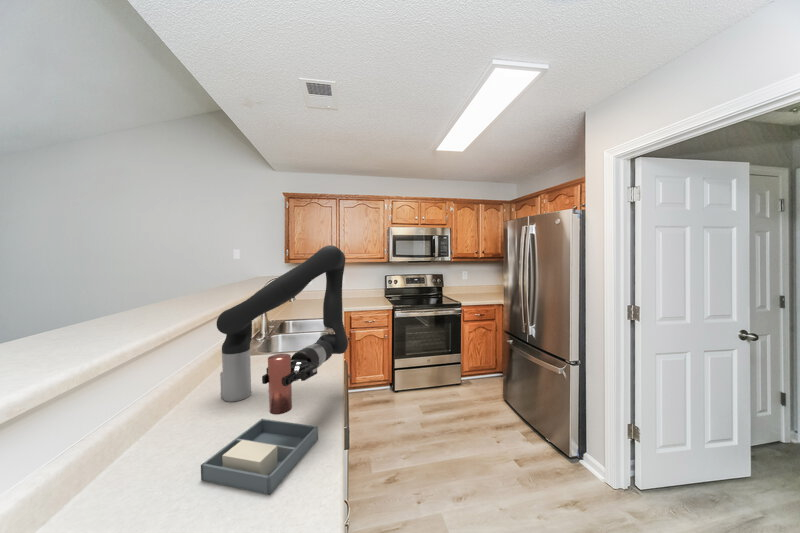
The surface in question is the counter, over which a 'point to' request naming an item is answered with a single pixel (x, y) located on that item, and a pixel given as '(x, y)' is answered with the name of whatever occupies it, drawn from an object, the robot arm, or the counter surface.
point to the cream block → (252, 457)
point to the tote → (285, 435)
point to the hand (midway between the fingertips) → (274, 381)
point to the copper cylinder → (279, 384)
